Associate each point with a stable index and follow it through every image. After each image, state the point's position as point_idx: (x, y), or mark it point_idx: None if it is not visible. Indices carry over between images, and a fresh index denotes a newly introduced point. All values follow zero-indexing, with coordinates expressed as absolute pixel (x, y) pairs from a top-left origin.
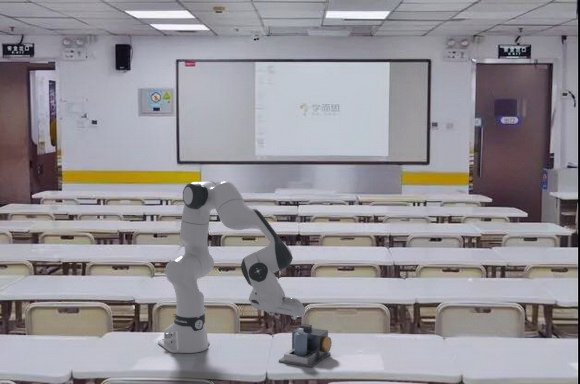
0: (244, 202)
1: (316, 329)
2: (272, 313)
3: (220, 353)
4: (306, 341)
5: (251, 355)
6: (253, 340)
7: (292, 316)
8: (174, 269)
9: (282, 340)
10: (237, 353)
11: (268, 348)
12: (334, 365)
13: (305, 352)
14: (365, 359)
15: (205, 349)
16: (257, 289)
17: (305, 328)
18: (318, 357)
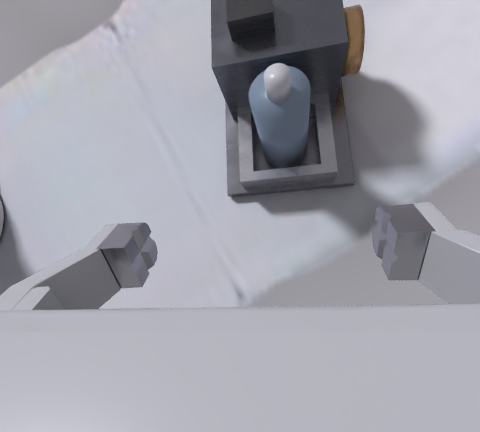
0: None
1: None
2: (144, 272)
3: (48, 223)
4: (309, 107)
5: (130, 188)
6: (83, 85)
7: (407, 270)
8: None
9: (150, 38)
10: (88, 196)
11: (146, 112)
12: (405, 119)
13: (307, 137)
14: (462, 15)
15: (2, 224)
16: None
17: (258, 23)
18: (331, 105)
